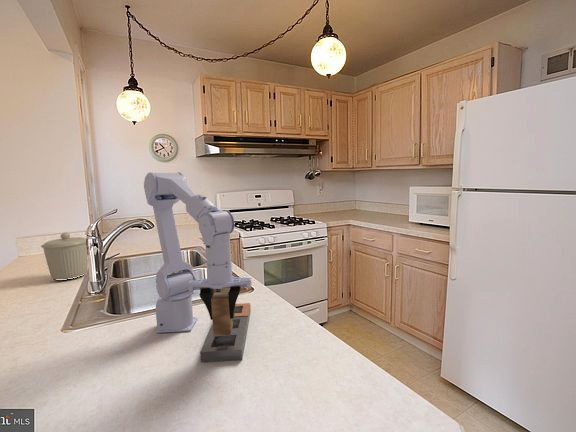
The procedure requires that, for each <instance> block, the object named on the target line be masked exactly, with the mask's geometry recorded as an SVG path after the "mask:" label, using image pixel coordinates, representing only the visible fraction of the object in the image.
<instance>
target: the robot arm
mask: <svg viewBox="0 0 576 432" xmlns="http://www.w3.org/2000/svg"><path fill="white" fill-rule="evenodd" d="M143 188H144V194H145V199H146V201H147V202H146V203H147V205H149V206H151V207H152V210H153V215H154V219H155V224H156V230H157V233H158V239H159V244H160V247H161V248H160V249H161V254H162V259H163V265H162V266H161V267H160V268H159V270H158V271H157V272H156V273H155V277H156V279H157V283H156V282H155V283H156V285H155V286H156V291H157V294H158V296H160V297H158V298H157V300H156V302H155V318H156V319H155V320H156V328H157V329H156V333H157V334H158V333H160V334H161V333H163V334H164V333H176V332H179V333H180V332H190V331H191V332H192V330H193V328H194V326H195V324H196V322H197V320H198V317H197V316H195V317H194V313H193V298H192V295H193V294H195V293H194V291H196V290H197V291H198V290H200V292H199V298H200V299H201V300H202V302H203V303H204V305H205V307H206V309H207V310H206V311H207V313H208V316H209V318H210V321H212V306H211V298H212V296H213V294H214V293H215V290H216V289H217V290H220V289H228V291H227V292H228V295H229V302H230V319H233V318H234V310H235V304H237V300H238V298H239V295H240V292H241V289H242V288H246V289H251V288H252V277H240V276H239V277H237V276H233V269H232V268H233V266H232V248H231V234H232V232H234V230H235V219H234V215H233V214H232V213H231V212H230V210H228V209H221V208H220V209H219V208H218V207H217V206H216V205H215V204H214V203H213V202H211V201H210V199H208V198H207V196H206V194H196V192H194V190H193V189H192V188H191V187H190V186H189V185H188V181H187V177H186V176H185V175H184V173H182V172H147V174H146V175H145V178H144V181H143ZM179 201H181V202H182V203H184V204H185V211H186V213H188V215H190V216H191V218H192V219H193V220H194V221H195V222H196V223H197V224H198V230H199V232H200V234H201V237H202V238H201V239H202V242H203V245H205V259H206V273H207V278H202V279H197V276H196V274H195V272H194V271H195V270H194V268H193V265H192V264H190V263H188V262H187V261H184V258H183V255H182V249H181V245H180V240H179V235H178V230H177V226H176V221H175V214H174V211H173V206H174V205H175V204H176V203H179ZM177 271H182V272H179V273H176V274H172V275H168V274H170V273H173V272H177ZM167 275H168V276H167ZM156 279H155V280H156Z"/></svg>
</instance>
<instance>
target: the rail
mask: <svg viewBox="0 0 576 432" xmlns="http://www.w3.org/2000/svg"><path fill="white" fill-rule="evenodd" d="M251 310H252V309H251V303H250V302H248V303H236V304H235V310H234V318H233V319H232V321H233V328H232V332H231V335H219V336H213V322H212V324H211V325H210V328H209V331H208V334H207V336H206V338H205V339H204V342H203V345H202V347H201V349H200V351H199V352H200V353H199V355H200V363H215V362H231V361H232V362H233V361H243V358H244V352H245V348H246V347H245V346H246V341H247V336H248V335H247V334H248V329H249V324H250V316H251V312H252V311H251ZM231 345H232V346H231Z"/></svg>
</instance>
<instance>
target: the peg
mask: <svg viewBox="0 0 576 432" xmlns="http://www.w3.org/2000/svg"><path fill="white" fill-rule="evenodd" d="M228 292H229V291H222V292H214V294H213V296H212V298H211V306H212V320H211V321H212V323H213V336H219V335H231V332H232V328H233V321H232V319H230V302H229V295H228Z"/></svg>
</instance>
